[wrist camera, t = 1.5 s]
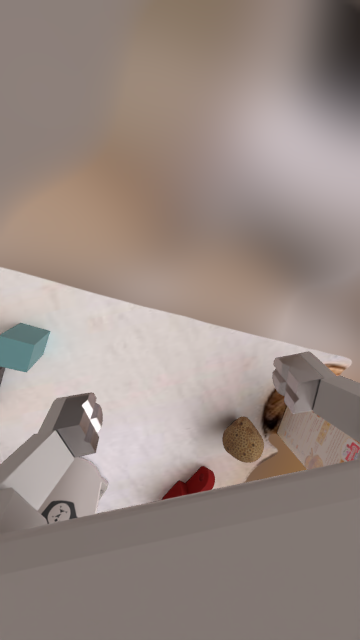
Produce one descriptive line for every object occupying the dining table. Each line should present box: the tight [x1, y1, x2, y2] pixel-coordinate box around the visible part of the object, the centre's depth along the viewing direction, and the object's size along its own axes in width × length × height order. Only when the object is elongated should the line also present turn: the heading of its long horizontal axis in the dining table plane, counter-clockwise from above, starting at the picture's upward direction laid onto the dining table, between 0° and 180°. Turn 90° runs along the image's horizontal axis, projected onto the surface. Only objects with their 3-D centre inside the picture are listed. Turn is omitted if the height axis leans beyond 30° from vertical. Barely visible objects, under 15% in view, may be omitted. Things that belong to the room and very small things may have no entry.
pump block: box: [0, 323, 50, 372], centre depth 37 cm, size 5×6×7 cm
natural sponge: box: [222, 417, 264, 462], centre depth 52 cm, size 9×9×10 cm
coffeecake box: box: [277, 406, 360, 470], centre depth 51 cm, size 15×7×20 cm, turn 167°
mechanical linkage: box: [162, 466, 215, 500], centre depth 57 cm, size 16×7×5 cm, turn 137°
